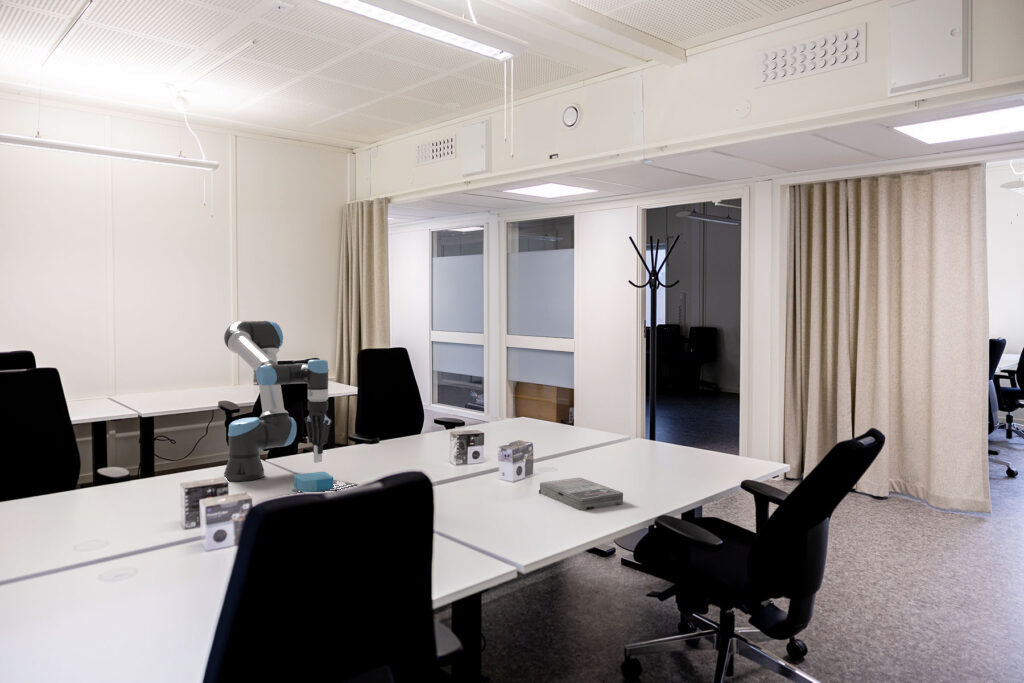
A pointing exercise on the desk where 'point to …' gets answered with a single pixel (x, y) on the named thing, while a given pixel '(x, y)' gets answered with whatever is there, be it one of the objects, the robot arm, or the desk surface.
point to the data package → (313, 482)
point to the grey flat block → (581, 493)
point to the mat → (333, 486)
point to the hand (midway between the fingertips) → (317, 461)
